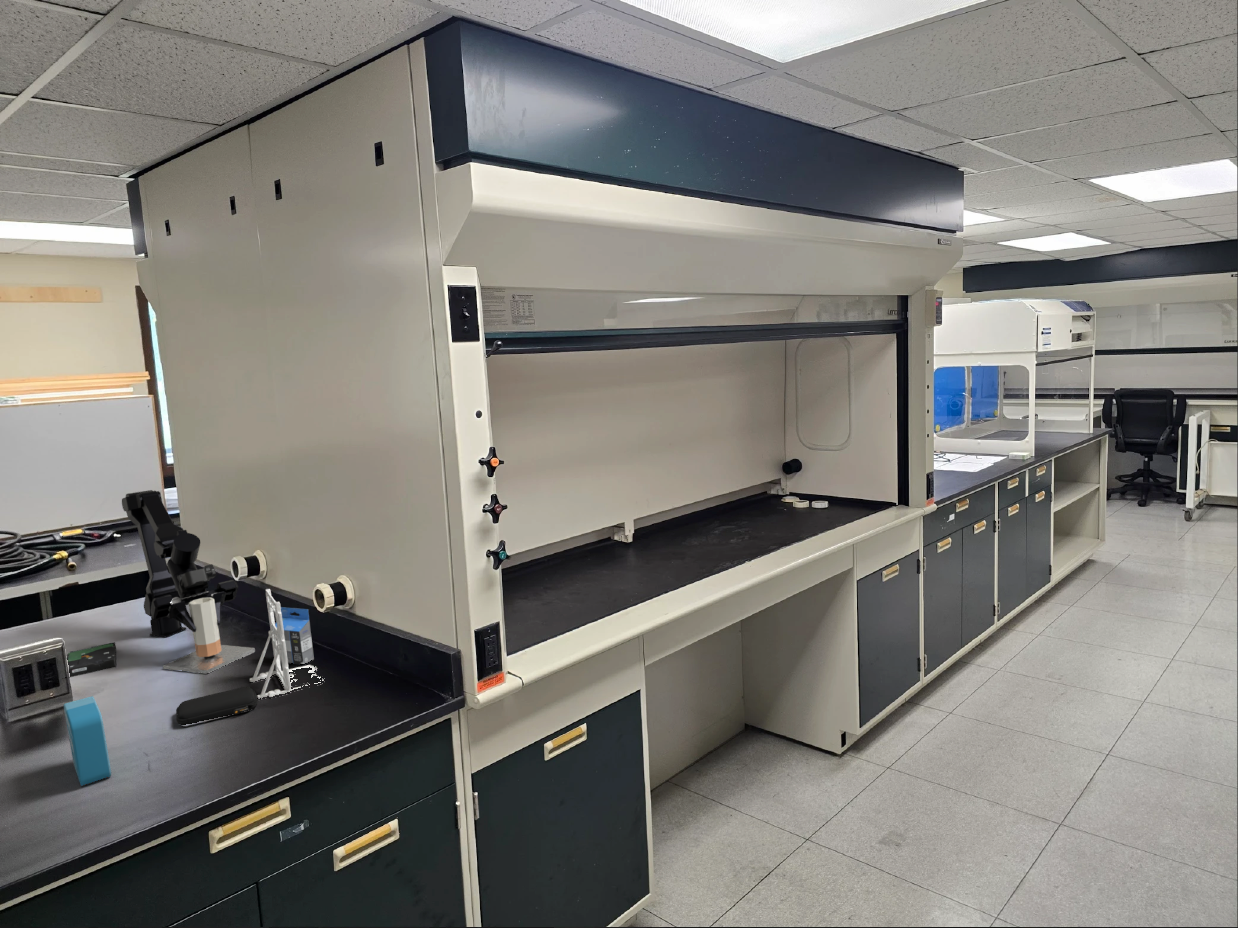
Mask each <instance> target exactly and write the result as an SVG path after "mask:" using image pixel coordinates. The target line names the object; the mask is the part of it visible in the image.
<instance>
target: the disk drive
mask: <svg viewBox="0 0 1238 928" xmlns="http://www.w3.org/2000/svg"><path fill="white" fill-rule="evenodd" d="M116 646H117V645H116V642H109V643H104V644H100V645H94V646H91V647H88V648H83V649H79V650H72V651H69V652H68V653H67V654H66V659H67V660H68V665H69V673H70V677H69V678H72V677H77V676H83V675H86V674H91V673H96V672H99V671H105V670H109V669H113V668H117V647H116Z"/></svg>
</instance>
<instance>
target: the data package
mask: <svg viewBox="0 0 1238 928" xmlns="http://www.w3.org/2000/svg"><path fill="white" fill-rule="evenodd" d="M63 710H64V717H65V722H66V728H67V733H68V738H69V745H70V750H71V751H70V752H71V757H72V762H73V767H74V769H75V772H76V775H77V779H78V782H79V784H80V786H81V787H82V786H83V785H84V786H86V785H85V784H87V785H90V784H92V782H93V783H95V781H96V782H99V781H101V779H102V780H104V779H103V778H105V779H107V778H106V777H108V778H111V777H112V770H111V769H112V768H111V762H110V756H109V751H108V744H107V740H106V738H107V737H106V734H105V732H106V731H105V727H104V721H103V716H102V713H101V710H100V708H99V705H98V704H97V701H96V699H95V697H94V696H93V695H92V696H88V697H85V698H80V699H77V700H74V701H69V702H66V703H64V704H63ZM98 780H99V781H98ZM89 783H90V784H89Z"/></svg>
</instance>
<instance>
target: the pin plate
mask: <svg viewBox="0 0 1238 928" xmlns="http://www.w3.org/2000/svg"><path fill="white" fill-rule="evenodd" d="M255 652H256V649H255V647H249V646H238V645H227V644H221V651H220V652H219V653H218V654H215V655H212V656H208V657H198V656H197V655H196V650H195V651H193V652H191V653H188V654H186V655H184V656H181V657H179V658H176V659H175V660H172V661H169V662H167V663H166V664H163V665H162V668H163V670H164V669H170V670H169V671H173V670H182V671H189V672H188V673H190V672H200V673H201V672H202V673H210V672H212V671H214V670H216V669H218V670H220V669H222V668H223V667H222V666H224V667H226V666H229V665H230V664H229V663H231V662H233V663H235V662H236V661H235V660H237V661H238V659H239V660H242V657H243V658H245V657H247V656H250V655H251V654H254V653H255ZM234 661H235V662H234ZM228 664H229V665H228ZM231 664H232V663H231ZM225 665H226V666H225ZM221 667H222V668H221ZM219 668H220V669H219ZM182 671H181V672H182ZM216 671H217V670H216ZM214 672H215V671H214ZM212 673H213V672H212ZM210 674H211V673H210Z"/></svg>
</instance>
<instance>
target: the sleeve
mask: <svg viewBox="0 0 1238 928" xmlns="http://www.w3.org/2000/svg"><path fill="white" fill-rule="evenodd" d="M188 607H189V612H190V613H189V615H190V617H191V619H192V621H193V622H194V625H195V628H196V632H193V631H192V632H193V633H192V634H193V641H194V646H195V648H194V649H195V651H196V655H197V656H198V657H208V656H212V655H215V654H218V653H219V652H220V651H221V645H222V643H221V637H220V630H219V626H218V623H217V615H216V608H215V601H214V599H213V598H211V597H209V598H200V599H196V600H193V601H191V602H189V605H188Z"/></svg>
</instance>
